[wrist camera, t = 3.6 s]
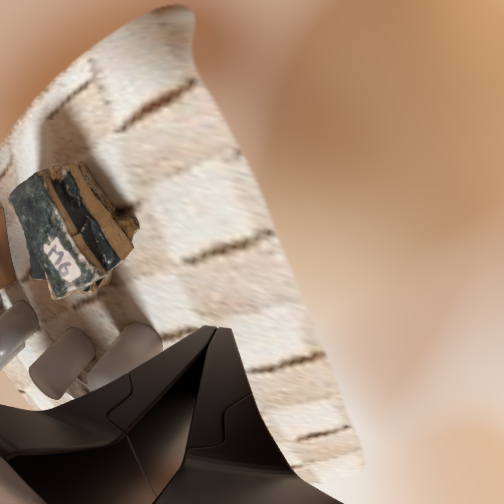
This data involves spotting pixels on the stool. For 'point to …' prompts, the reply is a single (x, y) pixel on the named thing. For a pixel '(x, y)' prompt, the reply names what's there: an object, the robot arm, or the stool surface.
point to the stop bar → (5, 255)
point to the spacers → (74, 352)
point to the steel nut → (79, 386)
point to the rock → (71, 229)
